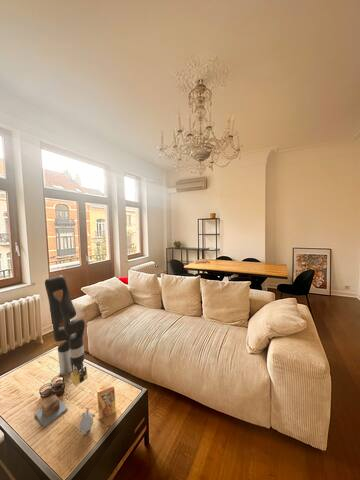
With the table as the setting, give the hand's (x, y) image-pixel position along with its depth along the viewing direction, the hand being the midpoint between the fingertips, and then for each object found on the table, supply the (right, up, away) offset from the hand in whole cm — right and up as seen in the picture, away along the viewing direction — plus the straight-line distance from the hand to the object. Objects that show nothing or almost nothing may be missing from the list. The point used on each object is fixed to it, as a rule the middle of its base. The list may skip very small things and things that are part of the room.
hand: (79, 379), depth 120 cm
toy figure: (+12, -17, -15) cm, 25 cm away
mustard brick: (0, -1, 0) cm, 1 cm away
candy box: (+19, -15, -6) cm, 25 cm away
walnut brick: (-14, -15, -5) cm, 21 cm away
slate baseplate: (-14, -16, -4) cm, 21 cm away
